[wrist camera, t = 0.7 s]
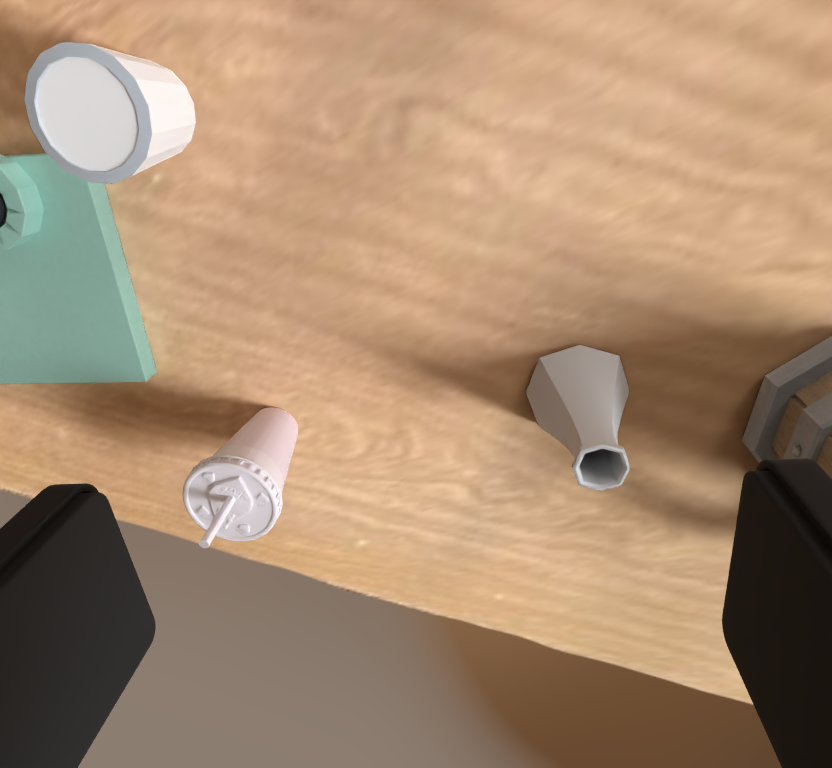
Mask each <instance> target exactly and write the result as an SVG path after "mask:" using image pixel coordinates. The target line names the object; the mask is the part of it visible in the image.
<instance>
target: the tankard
mask: <svg viewBox="0 0 832 768" xmlns="http://www.w3.org/2000/svg"><path fill="white" fill-rule="evenodd" d="M742 441H743V442H744V444H745V445H746V447H747V448H748V449H749V451H750V452H751V453H752V455H753V456H754V457H755V459H756V460H757V461H758V463H760V462H761V461H763V460H775V459H803V458H808V459H812V460H814V461H815V462H816V463H817V464H818V465H819V466H820V467H821V468H822V469H823V470H824V471H825V472H826V473H827V475H828V476H829V477H830V478H831V479H832V336H830V337H829V338H827V339H825V340H824V341H822V342H820V343H819V344H817V345H815V346H814V347H812V348H810V349H809V350H807V351H805V352H803V353H802V354H800V355H798V356H797V357H795V358H793V359H792V360H790V361H788V362H787V363H785V364H783V365H782V366H780V367H778V368H777V369H775V370H773V371H772V372H770V373H768V374H766V375H765V377H764V379H763V382H762V385H761V388H760V391H759V393H758V396H757V399H756V402H755V405H754V407H753V410H752V413H751V416H750V419H749V421H748V424H747V427H746V430H745V433H744V435H743V438H742Z"/></svg>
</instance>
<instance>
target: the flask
mask: <svg viewBox="0 0 832 768" xmlns="http://www.w3.org/2000/svg"><path fill="white" fill-rule="evenodd" d="M526 394H527V396H528V399H529V402H530V405H531V407H532V410H533V413H534V415H535V418H536V421H537V423H538V425H539V426H540V427H541V428H543V429H544V430H545V431H547V432H548V433H549V434H551V435H552V436H554V437H555V438H556V439H557V440H558V441H560V442H561V443H562V444H563V445H564V446H565V447H567V448H568V449H569V450H570V451H571V453H572V455H573V456H574V458H575V459H574V462H573V464H572V467H573V470H574V473H575V476H576V479H577V481H578V484H579V485H580V486H583V487H587V488H591V489H594V490H598V491H601V490H605V489H609V488H613V487H617V486H621V485H622V483H623V481H624V479H625V477H626V475H627V473H628V471H629V469H630V466H629V463H628V459H627V456H626V453H625V450H624V448H623V447H622V446H619V445H618V439H617V432H618V428H619V424H620V420H621V416H622V413H623V410H624V407H625V404H626V401H627V398H628V394H629V387H628V384H627V380H626V377H625V374H624V370H623V367H622V363H621V360H620V356H619V355H615V354H611V353H608V352H604V351H601V350H597V349H593V348H590V347H586V346H583V345H577V346H574V347H571V348H568V349H565V350H562V351H559V352H556V353H552V354H549V355H546V356H543V357H540V358H539V360H538V363H537V365H536V368H535V370H534V373H533V376H532V378H531V381H530V383H529V386H528V388H527V391H526Z"/></svg>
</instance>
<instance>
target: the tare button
mask: <svg viewBox="0 0 832 768" xmlns="http://www.w3.org/2000/svg"><path fill="white" fill-rule="evenodd" d="M5 214H6V207H5V203H4V200H3V198H2V196H1V194H0V223H1V222H2V221H3V219H4V217H5Z"/></svg>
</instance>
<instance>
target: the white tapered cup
mask: <svg viewBox="0 0 832 768" xmlns="http://www.w3.org/2000/svg"><path fill="white" fill-rule="evenodd" d="M24 100H25V104H26V109H27V114H28V118H29V123H30V127H31V128H32V130H33V132H34V134H35V135H36V137H37V139H38V141H39V142H40V144H41V146H42V148H43V149H44V151H45V152H46V153H47V154H48V155H49V156H50V157H51V158H52V159H53V160H54V161H55V162H56V163H57V164H58V165H59V166H60V167H61V168H62V169H63V170H65V171H66V172H68V173H70V174H72V175H74V176H76V177H79V178H81V179H83V180H85V181H87V182H91V183H106V184H113V183H116V182H118V181H120V180H123V179H125V178H128V177H130V176H132V175H135V174H137V173H139V172H141V171H143V170H145V169H147V168H149V167H152V166H154V165H156V164H158V163H160V162H162V161H164V160H166V159H168V158H171V157H173V156H175V155H177V154H179V153H181V152H182V151H183V150H184V148H185V147H186V146H187V145H188V144H189V142H190V141H191V140H192V136H193V132H194V128H195V125H196V120H195V110H194V103H193V101H192V99H191V97H190V95H189V93H188V90H187V88H186V86H185V85H184V84H183V83H182V81H181V80H180V79H179V78H178V77H177V76H176V75H175V74H174V73H173V72H172V71H171V70H169V69H167V68H165V67H163V66H161V65H159V64H157V63H155V62H153V61H149V60H146V59H142V58H139V57H135V56H131V55H128V54H124V53H121V52H117V51H113V50H110V49H106V48H103V47H99V46H96V45H92V44H88V43H70V42H62V43H60V44H58V45H55V46H53V47H51V48H49V49H47V50H45V51H43V52H41V54H40V55H39V57H38V58H37V60H36V61H35V63H34V64H33V66H32V67H31V69H30V70H29V72H28V75H27V82H26V90H25V97H24Z"/></svg>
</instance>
